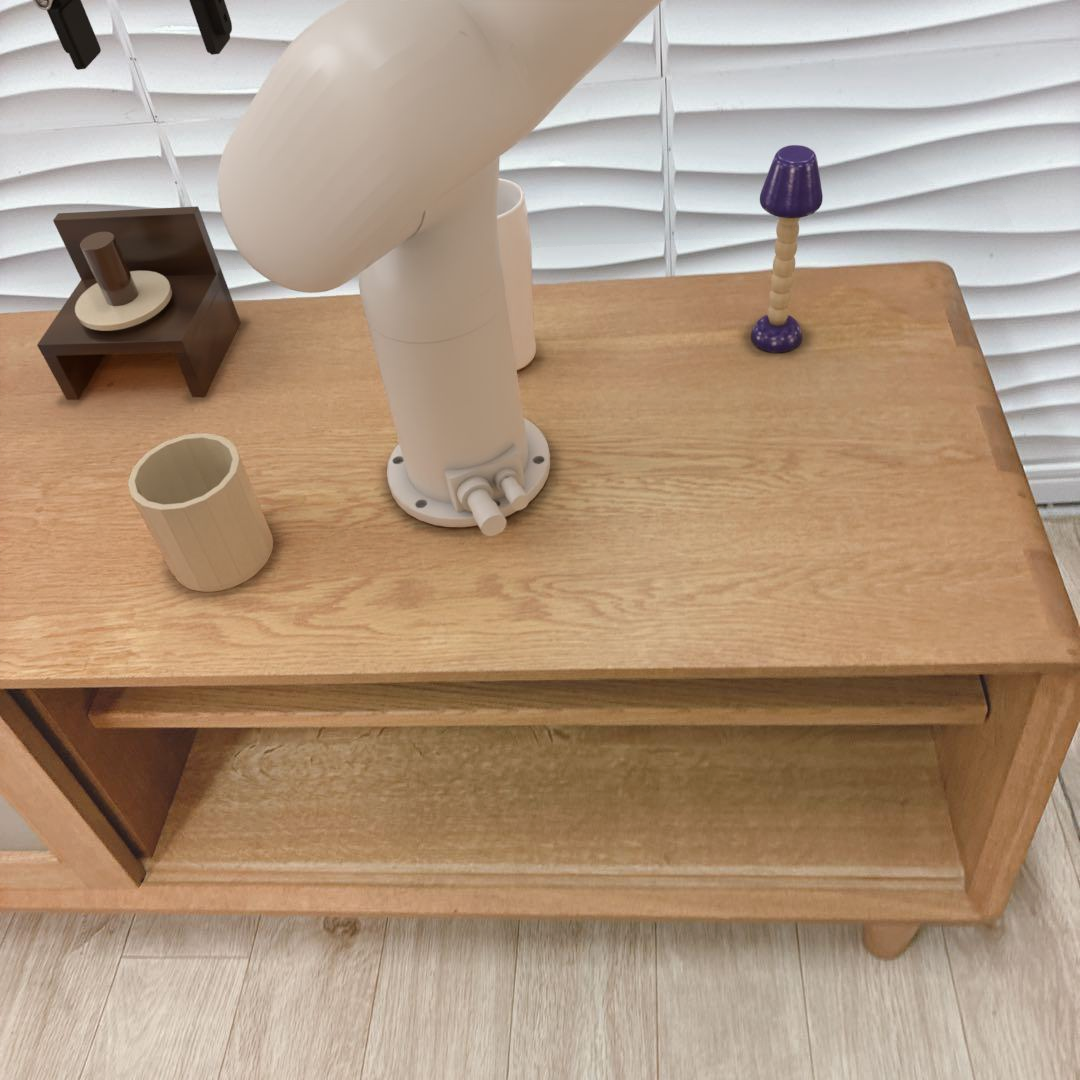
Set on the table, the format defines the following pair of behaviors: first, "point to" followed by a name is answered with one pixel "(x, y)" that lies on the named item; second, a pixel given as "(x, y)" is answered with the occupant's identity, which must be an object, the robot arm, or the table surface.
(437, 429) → the robot arm
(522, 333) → the drinking glass
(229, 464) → the pot
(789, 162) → the toy lamp
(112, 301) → the lid
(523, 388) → the table surface
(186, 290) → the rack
